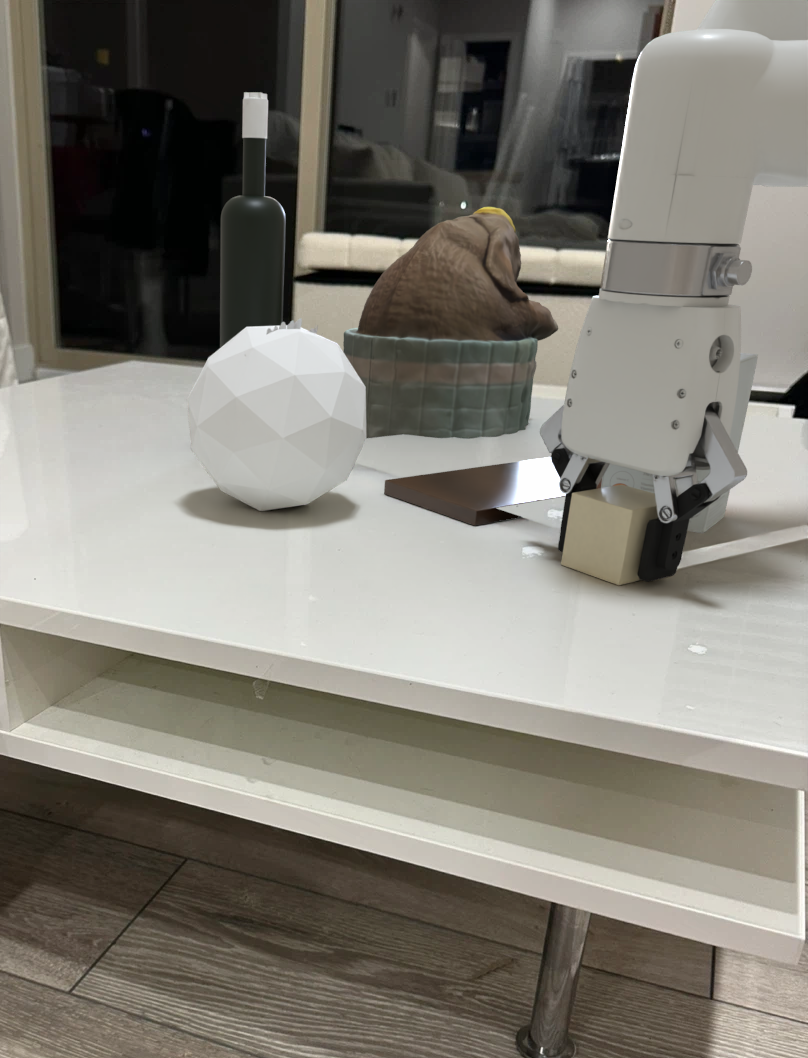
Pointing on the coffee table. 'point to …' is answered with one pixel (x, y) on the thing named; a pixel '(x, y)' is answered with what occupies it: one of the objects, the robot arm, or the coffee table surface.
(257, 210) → the wine bottle
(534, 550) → the coffee table surface
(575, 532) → the beige block
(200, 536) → the coffee table surface
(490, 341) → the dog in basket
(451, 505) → the dark brown board
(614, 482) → the small box
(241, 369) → the geodesic sphere
